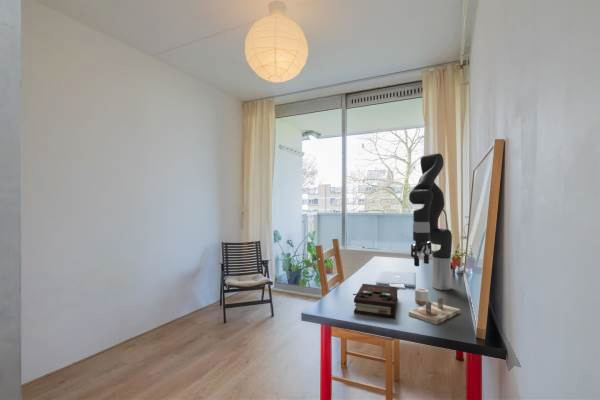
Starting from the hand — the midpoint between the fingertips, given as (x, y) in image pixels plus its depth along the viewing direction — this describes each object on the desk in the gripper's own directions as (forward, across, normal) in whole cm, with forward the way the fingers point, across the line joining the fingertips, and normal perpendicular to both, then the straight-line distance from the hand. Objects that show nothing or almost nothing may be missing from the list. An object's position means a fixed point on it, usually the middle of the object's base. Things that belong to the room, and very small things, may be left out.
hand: (421, 264), depth 138 cm
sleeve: (+18, 0, 0) cm, 18 cm away
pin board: (+18, +9, +11) cm, 23 cm away
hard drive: (+19, -15, -24) cm, 34 cm away
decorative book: (+19, +21, -10) cm, 30 cm away
